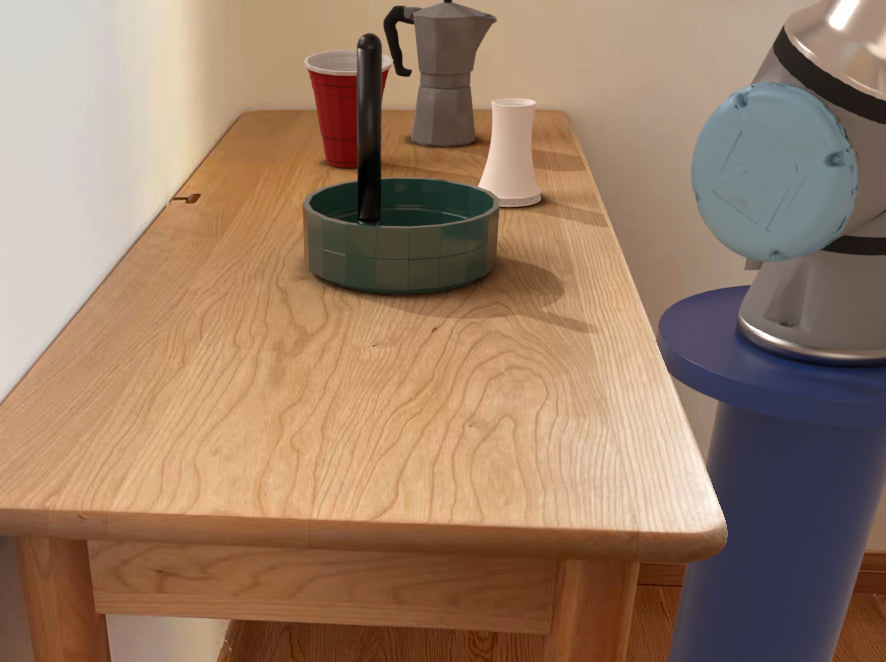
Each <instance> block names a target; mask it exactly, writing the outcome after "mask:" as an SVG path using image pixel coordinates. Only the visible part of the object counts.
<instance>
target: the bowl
mask: <svg viewBox="0 0 886 662" xmlns="http://www.w3.org/2000/svg"><path fill="white" fill-rule="evenodd" d="M499 219H500V199H499V198H498V197H497V196H496V195H494V194H493V193H492V192H491V191H488V190H486V189H483V188H480V187H478V185H475V184H472V183H471V184H470V183H466V182H461V181H457V180H456V181H455V180H451V179H442V178H433V177H413V176H411V177H410V176H409V177H408V176H391V177H390V176H388V177H381V219H380V222H379V223H378V226H374V225H366V224H360V222H359V220H358V188H357V179H355V180H350V181H348V180H347V181H342V182H338V183H337V182H336V183H334V184H330V185H327V186H323V187H320V188H318V189H317V190H314V191H312V192H310V193H309V194H307V195H306V196H305V198H304V200H303V201H302V225H303V226H302V227H303V229H302V230H303V259H304V263H305V265H306V267H307V270H308V271H310V272H311V273H312V274H315V276H318V277H319V278H320V279H323V280H324V281H326V282H328V283H330V284H332V285H335V286H338V287H342V288H346V289H350V290H353V291H354V290H355V291H358V292H359V291H360V292H366V293H373V294H374V293H375V294H389V295H390V294H391V295H411V294H413V295H415V294H427V293H428V294H429V293H435V292H436V293H437V292H442V291H448V290H452V289H455V288H460V287H463V286H466V285H468V284H471V283H474V282H475V281H477V280H479V279H480V278H482V277H485V276H486V275H488V274H489V273H490V272H491V271H492V270H493V269H494V268H496V265H497V251H498V250H497V248H498V233H499Z"/></svg>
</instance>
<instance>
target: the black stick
mask: <svg viewBox="0 0 886 662" xmlns="http://www.w3.org/2000/svg"><path fill="white" fill-rule="evenodd" d="M382 43H383V42H382V40H381V38H380V37H379V36H378V35H377V34H375V33H372V32H366V33H364V34H363V35H361V36H360V37H359V38H358V40H357V43H356V50H357V167H356V169H357V170H356V171H357V172H356V173H357V174H356V175H357V177H356V178H357V179H356V180H357V188H358V220H359V222H360V224H366V225H374V226H378V223H379V222H380V219H381V178H382V137H383V136H382V131H383V130H382V129H383V127H382V126H383V125H382V123H383V121H382V120H383V99H382V54H383V44H382Z"/></svg>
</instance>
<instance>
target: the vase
mask: <svg viewBox="0 0 886 662" xmlns="http://www.w3.org/2000/svg"><path fill="white" fill-rule="evenodd" d="M536 107H537V101H535V100H533V99H529V98H523V97H505V98H497V99H494V100H491V112H492V113H491V116H492V117H491V119H492V120H491V121H492V122H491V123H492V124H491V139H490V145H489V150H488V155H487V159H486V163H485V166H484V169H483V172H482V175H481V177H480V180H479V183H478V185H477V186H478V187H480V188H483V189H486V190H488V191H491V192H492V193H493V194H494V195H496V196H497V197H498V198H499V199H500V206H499V208H500V207H502V208H513V207H514V208H515V207H517V208H518V207H526V206H527V207H528V206H532V205H536V204H538V203H540V201H541V200H542V196H541V194H542V189H541V187H539V185H538V182H537V181H538V180H537V177H536V172H535V168H534V162H533V147H532V145H533V143H532V139H533V138H532V137H533V126H534V125H533V124H534V116H535V111H536Z"/></svg>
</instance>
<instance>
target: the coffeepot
mask: <svg viewBox="0 0 886 662" xmlns="http://www.w3.org/2000/svg"><path fill="white" fill-rule="evenodd" d="M398 22H399V23H404V24H409V25H414V34H415V43H416V55H417V64H418V71H419V72H420V73H419V75H420V76H419V84H420V85H418V90H417V97H416V101H415V102H416V103H415V108H414V115H413V120H412V127H411V131H410V139H411V142H412V143H414V144H417V145H421V146H428V147H443V148H444V147H445V148H447V147H459V146H465V145H469V144H472V143H474V142H475V141H476V139H477V138H476V130H475V129H476V128H475V119H474V118H475V117H474V109H473V107H474V105H473V98H472V87H471V73H472V72H473V71H474V68H475V62H476V56H477V51H478V49H479V47H480V46H481V44H482V42H483V40H484V39H485V37H486V35H487V33H488V32H489V30H490V28H491V27H492V25H494V24H495V23H497V22H498V19H497V17H496V16H495V15H492V14H491V13H487V12H484V11H481V10H479V9H475V8H472V7H468V6H465V5H462V4H459V3H456V2H453V0H443V2H440V3H437V4H433V5H431V6H426V7H424V8H423V7H419V6H406V5H394V6H393V7H392V8H391V9H390V11H389V12H388V13H387V14H386V16H385V17H384V19H383V22H382V25H383V26H382V28H383V31H384V35H385V38H386V41H387V45H388V49H389V53H390V56H391V58H392V59H393V63H392V65H393V68H394V72H395V74H396V75H397V76H399V77H403V78H409V77H411V75H412V73H413V69H410V68H406V67H404V64H403V62H404V61H403V58H404V57H403V51H402V48H401V46H400V40H399V39H400V38H399V31H398V29H397V24H398Z"/></svg>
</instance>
